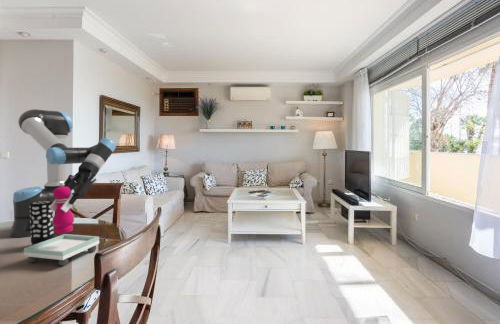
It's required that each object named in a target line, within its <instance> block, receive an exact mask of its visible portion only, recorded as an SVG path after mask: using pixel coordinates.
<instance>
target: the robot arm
mask: <svg viewBox="0 0 500 324" xmlns="http://www.w3.org/2000/svg"><path fill="white" fill-rule="evenodd" d="M18 126H19V128H20V130H21V131H22V132H23V133H24V134H26V135H29V136H30V137H31V138H33V140H34V141H35V142H36V143H37V144H39V146H41V148H42V149H43V150H44V151H45V158H46V176H47V177H46V179H47V182H46V183H45V184H44V185H43V186H44V188H42V187H41V186H33V187H32V186H31V187H26V188H22V189H19V190H16V191H15V192H14V193H13V195H12V196H13V198H12V204H13V223H12V226H11V229H10V230H9V231H10V232H9V233H10V234H9V235H10V237H11V236H12V238H25V237H26V238H27V237H31V227H30V203H32V202H37V201H53V203H52V204H51V206H50V207H49V208H50V209H52V210H53V212H56V210H57V203H55V201H56V200H55V199H56V198H55V197H54V195H53V191H54V190H55V189H56V188H57V187H60V186H59V184H60V183H64V184H65V185H64V186H66V187H68V188H70V190H71V195H70V196H69V198H68V199H67V200H66V202H65V203H64V204H63V206H62V207H61V208H60V209H62V210H63V211H64V212H67V211H68V210H69V208H70V209H71V207H72V205H74V204H75V203H76V201H77V199H80V198H84V196H85V195H86V193H88V190H90V188H91V187H92V185H93V184H94V183H95V182H96V181H97V178H96V175H98V173H99V172H100V170H101V168H102V167H103V166H104V165H105V163H106V162H107V160H108V159H109V158H110V157H111V155H112V154H114V151H115V149H116V148H117V147H116V143H115V142H114V141H113V140H111V139H110V138H106V137H103V138H101V139H100V140H98V142H97V144H95V145H92V146H90V147H89V146H88V147H68V146H67V145H66V138H67V137H69V134H70V133H71V132H72V130H73V126H74V125H73V120H72V118H71V116H70V115H69V114H68V113H66V112H63V111H57V110H56V111H55V110H45V109H44V110H43V109H35V108H34V109H29V110H26V111H24V112H22V113H21V115H20V116H19V118H18ZM71 164H80V165H79V166H78V168H77V169H78V170H77V172H76V173H75V174H74V175H72V174H69V175H68V177H67V170H66V169H67V168H66V167H67V165H71ZM74 188H75V189H74Z"/></svg>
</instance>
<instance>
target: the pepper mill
mask: <svg viewBox="0 0 500 324" xmlns="http://www.w3.org/2000/svg"><path fill="white" fill-rule="evenodd" d="M64 185H65V184H64V183H60V184H59V186H60V187H57V188H56V189H55V190H54V191H53V195H54V197H55V198H56V199H55V200H56V201H55V203H57V210H56V211H55V214H53V224H54V226H55V227H54V234H68V233H70V232H72V231H74V226H73V223H74V221H75V217H74V214H73V213H72V211H71V207H70V208H69V210H68V211H67V212H64V211H63V210H62V209H60V208H61V207H62V206H63V204H64V203H65V202H66V200H67V199H68V198H69V196H70V195H71V190H70V188H68V187H66V186H64Z"/></svg>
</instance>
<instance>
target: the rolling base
mask: <svg viewBox="0 0 500 324" xmlns="http://www.w3.org/2000/svg"><path fill="white" fill-rule="evenodd" d="M99 244H100V236H97V235H95V236H94V235H84V234H83V235H82V234H69V233H62V234H60V235H58V236H54V238H52V239H49V240H46V241H43V242H40V243H38V244H35V245H32V246H31V245H29V246H27V247H24V248H23V256H24V257H28V258H27V261H28V262H29V263H37V262H38V261H39V259H49V260H56V261H58V262H57V264H58V265H59V266H61V267H66V265H68V264H69V259H70V258H71V257H73V256H75V255H78V254H79V253H82V252H84V251H86V250H87V251H88V252H89V253H95V251H96V250H97V245H99Z"/></svg>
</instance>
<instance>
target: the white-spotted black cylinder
mask: <svg viewBox="0 0 500 324" xmlns="http://www.w3.org/2000/svg"><path fill="white" fill-rule="evenodd" d="M52 203H53V201H37V202H32V203H30V227H31V236H30V246H32V245H35V244H38V243H40V242H43V241H46V240H49V239H52V238H55V227H54V226H55V225H54V224H53V218H54V211H53V210H52V209H50V208H49V207H50V206H51V204H52Z"/></svg>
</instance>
